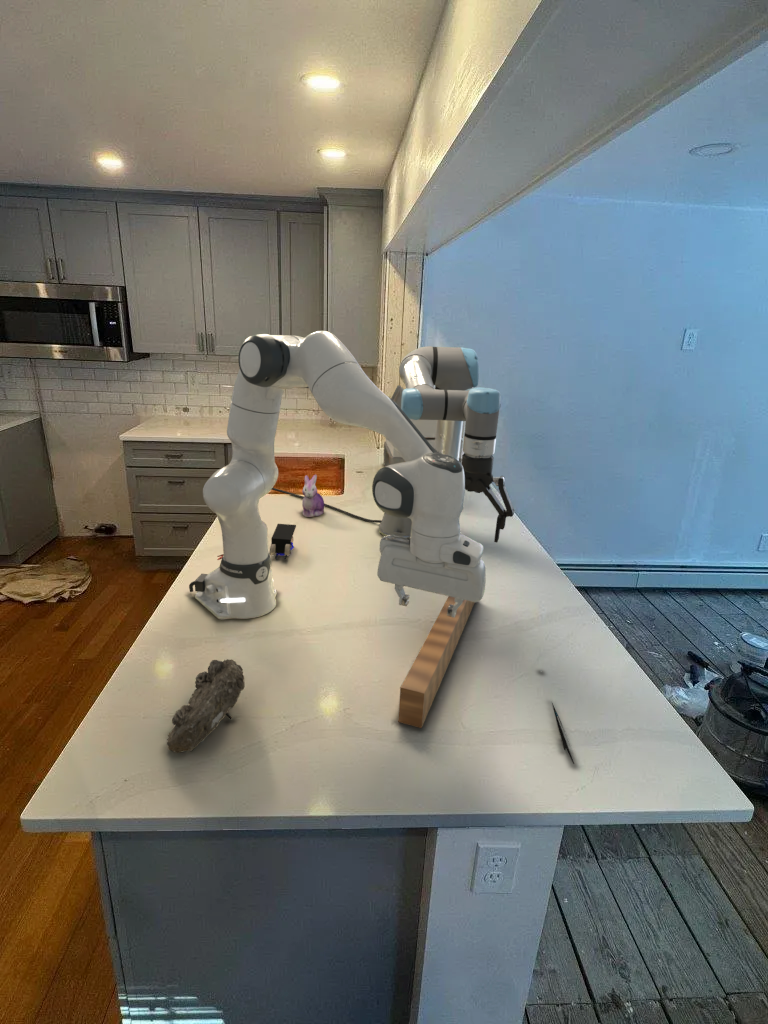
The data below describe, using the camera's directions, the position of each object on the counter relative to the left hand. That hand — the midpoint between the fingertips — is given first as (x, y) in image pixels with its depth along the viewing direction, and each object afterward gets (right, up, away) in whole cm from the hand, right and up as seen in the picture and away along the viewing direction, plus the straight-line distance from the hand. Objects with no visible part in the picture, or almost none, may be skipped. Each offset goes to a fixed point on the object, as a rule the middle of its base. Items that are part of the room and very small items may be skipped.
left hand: (427, 609), depth 108 cm
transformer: (+9, +37, +167) cm, 171 cm away
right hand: (+13, +13, +35) cm, 40 cm away
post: (+6, -14, +25) cm, 29 cm away
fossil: (-41, -20, 0) cm, 46 cm away
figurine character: (-40, +6, +72) cm, 83 cm away
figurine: (-35, +18, +107) cm, 114 cm away
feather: (+26, -22, +5) cm, 34 cm away
